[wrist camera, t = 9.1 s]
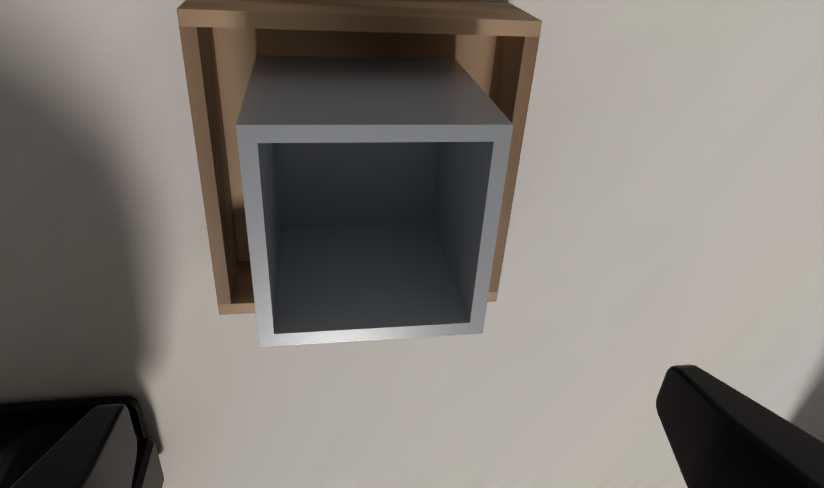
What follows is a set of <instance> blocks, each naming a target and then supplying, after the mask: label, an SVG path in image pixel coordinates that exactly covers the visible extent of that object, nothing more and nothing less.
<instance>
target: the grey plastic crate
mask: <svg viewBox="0 0 824 488" xmlns="http://www.w3.org/2000/svg"><path fill="white" fill-rule="evenodd" d="M236 131H237V140H238V150H239V159H240V169H241V178H242V188H243V197H244V207H245V216H246V226H247V235H248V245H249V254H250V264H251V273H252V283H253V292H254V302H255V311H256V320H257V330H258V339H259V347H267V346H283V345H300V344H316V343H332V342H349V341H365V340H382V339H398V338H415V337H431V336H448V335H464V334H480V333H483V326H484V320H485V313H486V306H487V299H488V293H489V286H490V279H491V272H492V266H493V259H494V252H495V245H496V239H497V232H498V225H499V219H500V212H501V205H502V198H503V192H504V185H505V178H506V171H507V165H508V158H509V151H510V144H511V138H512V131H513V124H512V122H511V121H510V120H509V119H508V118H507V117H506V116H505V115H504V113H503V112H502V111H501V110H500V109H499V108H498V107H497V105H496V104H495V103H494V102H493V101H492V100H491V99H490V98H489V96H488V95H487V94H486V93H485V92H484V91H483V90H482V89H481V87H480V86H479V85H478V84H477V83H476V82H475V81H474V80H473V78H472V77H471V76H470V75H469V74H468V73H467V72H466V70H465V69H464V68H463V67H462V66H461V65H460V64H459V63H458V61H457V60H456V59H439V58H381V57H323V56H266V55H256V58H255V62H254V65H253V68H252V72H251V75H250V79H249V82H248V85H247V89H246V92H245V96H244V99H243V102H242V106H241V109H240V113H239V116H238V119H237V123H236Z"/></svg>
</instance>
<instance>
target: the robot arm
mask: <svg viewBox="0 0 824 488" xmlns="http://www.w3.org/2000/svg"><path fill="white" fill-rule="evenodd" d="M656 408H657V412H658V415H659V418H660V420H661V423H662V425H663V428H664V430H665V433H666V435H667V438H668V440H669V443H670V445H671V448H672V450H673V453H674V455H675V458H676V460H677V463H678V465H679V468H680V470H681V473H682V475H683V478H684V480H685V482H686V485H687V487H688V488H824V443H823V442H822V441H820V440H818V439H817V438H815V437H813V436H812V435H810V434H808V433H807V432H805V431H803V430H802V429H800V428H798V427H797V426H795V425H793V424H792V423H790V422H788V421H787V420H785V419H783V418H782V417H780V416H778V415H777V414H775V413H773V412H772V411H770V410H768V409H767V408H765V407H763V406H762V405H760V404H759V403H757V402H755V401H754V400H752V399H750V398H749V397H747V396H745V395H744V394H742V393H740V392H739V391H737V390H735V389H734V388H732V387H730V386H729V385H727V384H725V383H724V382H722V381H720V380H719V379H717V378H715V377H714V376H712V375H710V374H709V373H707V372H705V371H704V370H702V369H700V368H699V367H697V366H694V365H677V366H672V367H670V368H669V369H668V370H667V372H666V375H665V378H664V380H663V383H662V385H661V388H660V391H659V393H658V396H657V400H656ZM163 481H164V476H163V472H162V468H161V464H160V460H159V456H158V452H157V448H156V444H155V441H154V440H153V439H152V438H151V437H148V436H147V432H146V428H145V424H144V420H143V416H142V412H141V409H140V405H139V402H138V401H137V400H136V399H135V398H133V397H130V396H111V397H97V398H82V399H67V400H53V401H38V402H23V403H9V404H0V488H162V485H163Z"/></svg>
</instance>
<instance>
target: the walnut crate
mask: <svg viewBox="0 0 824 488" xmlns="http://www.w3.org/2000/svg"><path fill="white" fill-rule="evenodd" d="M177 15H178V22H179V29H180V36H181V43H182V50H183V58H184V65H185V72H186V79H187V86H188V93H189V101H190V108H191V115H192V122H193V129H194V136H195V143H196V151H197V158H198V165H199V172H200V179H201V186H202V194H203V201H204V208H205V215H206V222H207V229H208V236H209V244H210V251H211V258H212V265H213V272H214V279H215V287H216V294H217V301H218V308H219V315H224V314H245V313H256V311H255V302H254V292H253V283H252V273H251V264H250V254H249V245H248V235H247V226H246V216H245V207H244V197H243V188H242V178H241V169H240V159H239V150H238V140H237V131H236V123H237V119H238V116H239V113H240V109H241V106H242V102H243V99H244V96H245V92H246V89H247V85H248V82H249V79H250V75H251V72H252V68H253V65H254V62H255V58H256V55H266V56H323V57H381V58H439V59H456V60H457V61H458V63H459V64H460V65H461V66H462V67H463V68H464V69H465V70H466V72H467V73H468V74H469V75H470V76H471V77H472V78H473V80H474V81H475V82H476V83H477V84H478V85H479V86H480V87H481V89H482V90H483V91H484V92H485V93H486V94H487V95H488V96H489V98H490V99H491V100H492V101H493V102H494V103H495V104H496V105H497V107H498V108H499V109H500V110H501V111H502V112H503V113H504V115H505V116H506V117H507V118H508V119H509V120H510V121H511V122H512V124H513V131H512V138H511V144H510V151H509V158H508V165H507V171H506V178H505V185H504V192H503V198H502V205H501V212H500V219H499V225H498V232H497V239H496V245H495V252H494V259H493V266H492V272H491V279H490V286H489V293H488V299H487V302H495V301H496V299H497V293H498V287H499V281H500V275H501V269H502V263H503V257H504V251H505V244H506V238H507V232H508V226H509V220H510V214H511V208H512V202H513V196H514V190H515V183H516V177H517V171H518V165H519V159H520V153H521V147H522V141H523V135H524V128H525V122H526V116H527V110H528V104H529V98H530V92H531V86H532V80H533V73H534V67H535V61H536V55H537V49H538V43H539V37H540V31H541V25H542V21H541V20H539V19H537V18H535V17H534V16H532V15H530V14H528V13H526V12H525V11H523V10H521V9H519V8H517V7H516V6H514V5H512V4H510V3H506V2H480V1H454V0H186V1H185V2H184V3H182V4H181V5H180V6H179V7H178V8H177Z"/></svg>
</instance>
